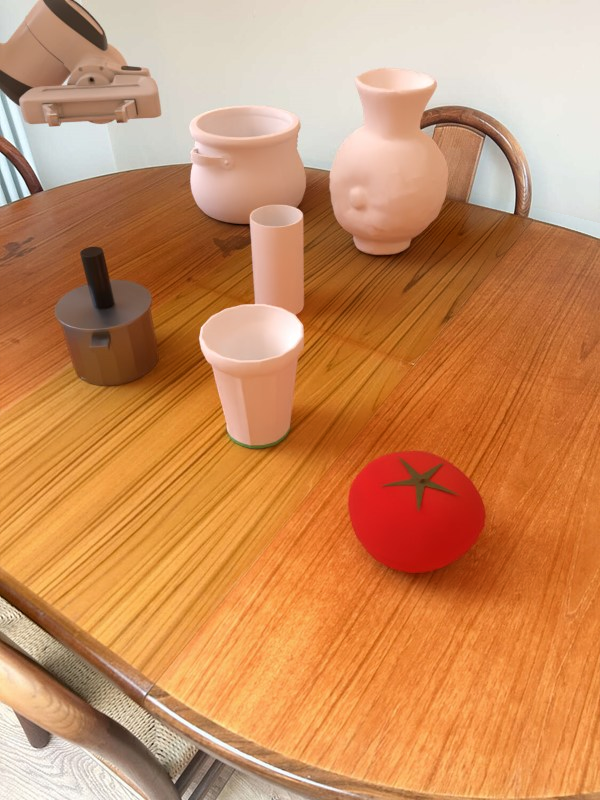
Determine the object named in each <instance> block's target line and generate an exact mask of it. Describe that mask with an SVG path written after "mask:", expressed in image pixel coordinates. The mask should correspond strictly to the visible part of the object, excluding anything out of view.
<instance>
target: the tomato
mask: <svg viewBox="0 0 600 800" xmlns="http://www.w3.org/2000/svg"><path fill="white" fill-rule="evenodd" d="M485 507H486V506H485V503H484V501H483V497H482V495H481V494H480V492H479V491H478V488H477V487H476V486H475V483H473V481H472V479H470V478H469V477H468V476H467V475H466V474H465V473H464V472H463V471H462V470H461V469H460V468H458V467H457V466H456V465H454V464H453V463H452V462H450V461H449V460H447V459H445V458H443V457H441V456H440V455H437V454H434V453H431V452H428V451H423V450H404V451H403V450H402V451H396V452H391V453H387V454H383V455H381V456H379V457H375V458H374V459H373V460H372V461H370V462H369V463H367V464H366V465H365V466H364V467H363V469H361V470H360V472H359V473H358V474H357V475H355V478H354V480H353V481H352V482H351V485H350V488H349V491H348V498H347V508H348V514H349V518H350V522H351V526H352V529H353V532H354V534H355V536H356V538H357V540H358V542H359V543H360V545H362V547H363V548H364V550H365V551H366V552H367V553H368V554H369V555H370V556H371V557H372V558H373V559H374V560H375V561H377V562H378V563H380V564H382V565H383V566H385V567H388V568H389V569H391V570H392V569H393V570H395V571H399V572H403V573H409V574H420V573H421V574H422V573H427V572H432V571H437V570H440V569H442V568H444V567H447V566H448V565H450V564H453V563H454V562H456V561H458V560H459V559H460V558H461V557H463V556H464V555H465V554H466V553H467V552H469V551H470V550H471V549H472V548H473V546H474V545H475V544H476V543H477V541H478V539H479V538H480V536H481V534H482V532H483V530H484V528H485V525H486V519H487V514H486V508H485Z"/></svg>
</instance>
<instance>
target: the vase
mask: <svg viewBox="0 0 600 800" xmlns="http://www.w3.org/2000/svg"><path fill="white" fill-rule="evenodd" d="M354 79H355V80H354V84H355V87H356V90H357V94H358V95H359V100H360V103H361V106H362V111H363V125H362V126H360V127H358V128H356V129H355V130H353V131H352V132H351V133H350V134H349V135H348V137H347V138H345V139H344V140H343V142H342V144H341V146H339V148H338V149H337V152H336V154H335V156H334V159H333V162H332V165H331V167H330V172H329V186H328V187H329V193H330V202H331V206H332V210H333V215H334V217H335V219H336V221H337V223H338V224H339V225H340V226H341V228H342V230H344V231H346V232H347V233H349V234H351V235H352V240H353V243H354V246H355V248H356V249H357V250H359V251H360V252H362V253H365V254H369V255H373V256H384V255H385V256H386V255H387V256H388V255H389V256H390V255H396V254H399V253H401V252H404V251H405V250H407V249H408V248H410V245H411V242H412V239H414V238H416V237H417V236H419V235H421V234H422V233H423V231H425V230H426V229H427V228H428V227H429V226H430V225H431V224H432V222H434V221H435V220H436V219H437V218H438V216H439V215H440V212H441V210H442V207H443V204H444V202H445V201H446V200H445V199H446V195H447V190H448V181H449V177H450V173H449V167H448V163H447V159H446V157H445V155H444V154H443V152H442V151H441V149H440V148H439V146H438V144H437V142H435V140H434V139H433V138H432V137H431V136H430V135H429V134H428V133H427V132H425V131H423V130H422V129H421V121H422V118H423V115H424V112H425V110H426V107H427V105H428V103H429V102H430V100H431V98H432V96H433V95H434V93H435V92H436V90H437V87H438V83H437V81H436V78H434V77H433V76H431V75H428V74H426V73H425V72H418V71H415V70H409V69H405V68H395V67H393V68H391V67H380V68H375V69H371V70H369V71H366V72H362V73H361V74H360V75H357V76H356V77H355V78H354Z"/></svg>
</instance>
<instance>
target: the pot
mask: <svg viewBox="0 0 600 800" xmlns="http://www.w3.org/2000/svg"><path fill="white" fill-rule="evenodd" d="M188 130H189V134H190V136H191V137H192V139H193V140H194V146H193V148H192V149H190V151H189V152H190V163H192V165H191V170H190V181H189V185H190V189H191V194H192V198H193V199H194V201H195V203H196V205H197V207H198V208H200V210H201V211H202V212H203V213H204V214H205V215H206V216H208V217H210V218H212V219H214V220H217V221H220V222H224V223H230V224H236V225H237V224H239V225H250V214H251V213H252V212H253V211H254V210H255V209H257V208H260V207H263V206H268V205H287V206H292V207H295V208H297V209H298V207H299V205H300V204H301V203H302V201H303V198H304V195H305V192H306V188H307V176H306V170H305V166H304V163H303V160H302V157H301V155H300V153H299V151H298V139H299V132H300V130H301V120H300V118H299V117H298V116H297V115H296V114H295V113H293V112H291V111H289V110H286V109H283V108H279V107H275V106H268V105H250V104H249V105H233V106H225V107H219V108H213V109H211V110H208V111H204V112H202V113H199V114H198V115H196V116H194V117H193V118H192V119H191V120H190V123H189V126H188Z"/></svg>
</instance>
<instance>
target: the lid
mask: <svg viewBox="0 0 600 800" xmlns="http://www.w3.org/2000/svg"><path fill="white" fill-rule="evenodd" d="M79 252H80V253H79V256H80V259H81V262H82V263H81V264H82V267H83V271H84V274H85V279H86V283H85V284H82V285H80V286H77V287H75V288H73V289H71V290H70V291H68V292H66V293H65V294H64V295H63V296H61V297H60V298H59V300H58V301H57V303H56V304H55V305H54V315H55V318H56V320H57V322H58V323H59V324H60V325H61V324H62V325H63V326H65V327H67V328H69V329H72V330H75V331H80V332H105V331H111V330H115V329H119V328H122V327H125V326H128V325H130V324H132V323H134V322H136V321H138V320H139V319H141V318H142V317H143V316H144V315H145V314H146V313H147V312H148V311H149V309H150V308H151V309H152V305H153V297H152V294H151V292H150V290H149V289H148V288H147V287H145V286H144V285H142V284H140V283H138V282H135V281H131V280H125V279H119V280H118V279H110V275H109V270H108V266H107V261H106V257H105V252H104V249H103V248H102V247H100V246H88V247H86V248H83V249H81V250H80V251H79Z"/></svg>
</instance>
